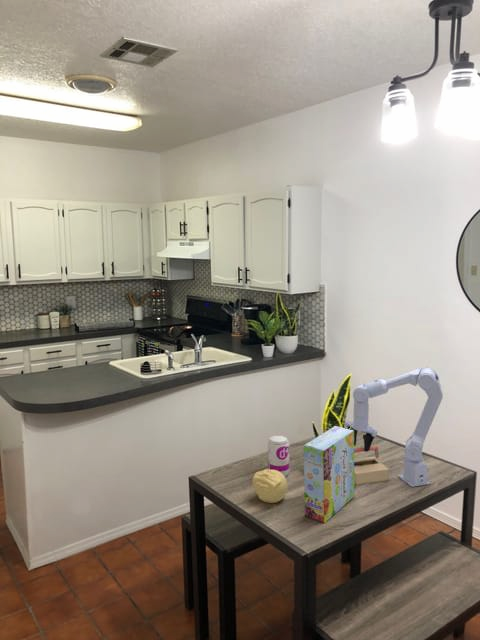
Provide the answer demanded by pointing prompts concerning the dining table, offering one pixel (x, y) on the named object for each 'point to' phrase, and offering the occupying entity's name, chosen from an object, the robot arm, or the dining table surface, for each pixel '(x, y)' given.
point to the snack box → (328, 473)
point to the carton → (370, 472)
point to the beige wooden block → (368, 457)
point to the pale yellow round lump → (270, 485)
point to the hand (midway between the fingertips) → (360, 448)
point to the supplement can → (278, 454)
